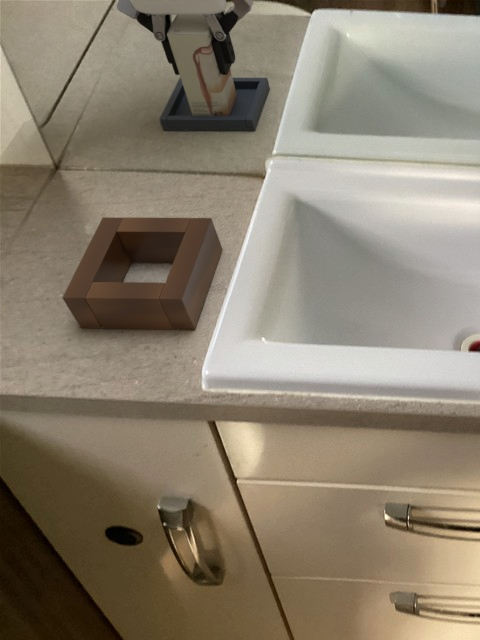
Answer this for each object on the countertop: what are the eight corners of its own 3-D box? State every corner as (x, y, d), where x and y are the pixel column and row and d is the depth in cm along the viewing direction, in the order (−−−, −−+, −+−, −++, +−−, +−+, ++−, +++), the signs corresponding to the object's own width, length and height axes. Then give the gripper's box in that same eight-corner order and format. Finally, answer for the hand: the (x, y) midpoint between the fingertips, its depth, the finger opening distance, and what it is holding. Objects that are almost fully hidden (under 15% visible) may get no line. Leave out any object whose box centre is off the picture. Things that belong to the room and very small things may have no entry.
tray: (163, 130, 90) (159, 119, 89) (183, 88, 96) (179, 77, 94) (255, 131, 90) (251, 119, 89) (270, 88, 95) (267, 77, 94)
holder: (80, 328, 71) (61, 297, 68) (117, 248, 78) (102, 217, 75) (195, 329, 71) (181, 299, 68) (222, 249, 77) (211, 217, 74)
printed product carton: (230, 118, 91) (205, 35, 83) (192, 118, 91) (164, 35, 83) (239, 92, 94) (216, 10, 86) (202, 93, 94) (176, 11, 86)
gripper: (247, -125, 77) (285, 50, 91) (76, -123, 77) (141, 50, 91) (229, -93, 72) (272, 87, 86) (48, -92, 73) (120, 87, 87)
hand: (204, 66), depth 88 cm, fingers closed on printed product carton, 4 cm apart
